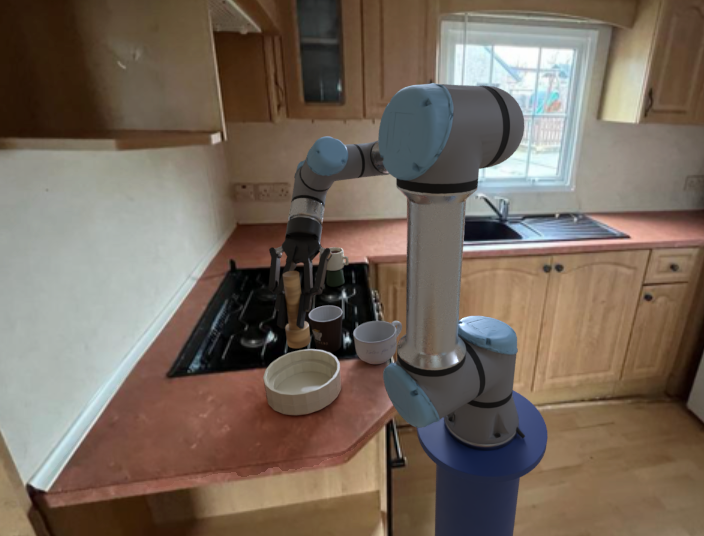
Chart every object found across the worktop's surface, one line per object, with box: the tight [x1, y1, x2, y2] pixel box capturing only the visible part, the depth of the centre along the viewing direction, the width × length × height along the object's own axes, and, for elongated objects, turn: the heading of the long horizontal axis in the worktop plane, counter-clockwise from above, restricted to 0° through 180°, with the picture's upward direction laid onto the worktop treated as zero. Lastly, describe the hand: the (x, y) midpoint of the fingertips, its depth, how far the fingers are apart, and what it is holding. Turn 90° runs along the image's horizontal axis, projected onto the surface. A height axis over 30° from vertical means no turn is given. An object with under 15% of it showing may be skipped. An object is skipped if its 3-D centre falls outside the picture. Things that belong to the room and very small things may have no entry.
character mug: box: [318, 246, 349, 288], centre depth 144 cm, size 11×7×13 cm, turn 77°
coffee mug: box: [305, 305, 343, 354], centre depth 109 cm, size 12×9×10 cm
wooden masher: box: [283, 270, 311, 349], centre depth 85 cm, size 5×5×16 cm
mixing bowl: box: [262, 348, 342, 416], centre depth 91 cm, size 16×16×6 cm
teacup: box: [352, 320, 403, 365], centre depth 104 cm, size 14×11×8 cm
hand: (290, 326), depth 82 cm, fingers closed on wooden masher, 3 cm apart
